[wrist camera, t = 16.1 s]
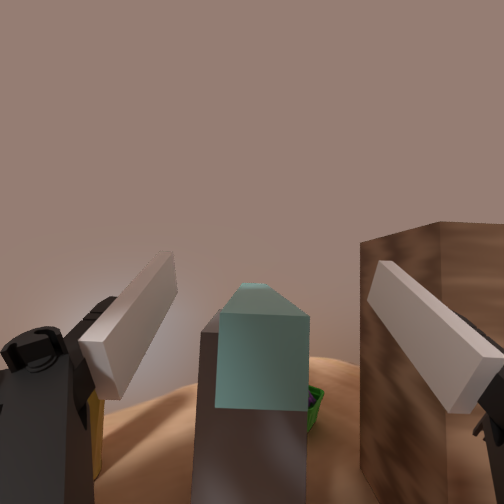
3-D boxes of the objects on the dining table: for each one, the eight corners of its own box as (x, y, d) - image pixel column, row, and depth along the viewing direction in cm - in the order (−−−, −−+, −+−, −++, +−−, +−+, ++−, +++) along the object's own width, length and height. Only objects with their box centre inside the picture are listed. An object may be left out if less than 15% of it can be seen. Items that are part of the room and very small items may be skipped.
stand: (589, 635, 17) (558, 226, 20) (452, 630, 17) (439, 221, 19) (435, 470, 31) (429, 245, 33) (360, 468, 31) (360, 242, 33)
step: (303, 607, 18) (308, 336, 19) (184, 603, 18) (200, 332, 19) (281, 472, 30) (286, 312, 31) (210, 469, 30) (219, 309, 31)
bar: (307, 411, 9) (309, 316, 9) (214, 407, 9) (220, 312, 9) (264, 307, 35) (265, 283, 35) (241, 306, 35) (242, 282, 35)
